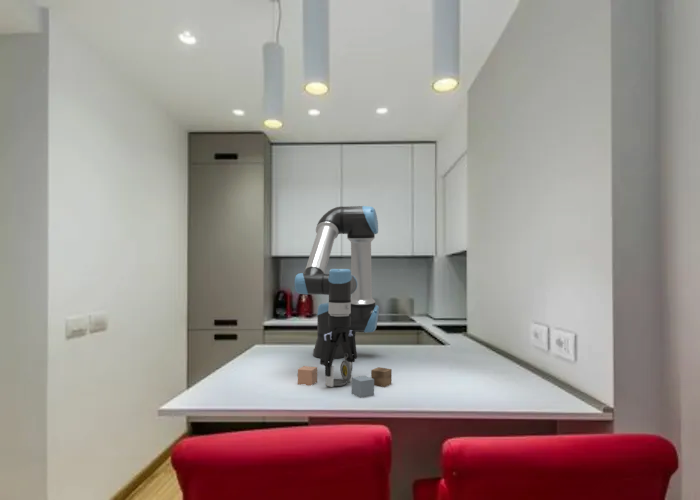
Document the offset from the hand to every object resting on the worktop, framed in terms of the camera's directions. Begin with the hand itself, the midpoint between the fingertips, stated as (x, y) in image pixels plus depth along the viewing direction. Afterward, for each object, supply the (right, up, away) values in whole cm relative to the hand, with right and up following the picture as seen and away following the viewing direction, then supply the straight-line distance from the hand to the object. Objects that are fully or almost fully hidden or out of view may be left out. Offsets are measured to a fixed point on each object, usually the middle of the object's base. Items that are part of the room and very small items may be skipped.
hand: (338, 383), depth 150 cm
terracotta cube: (-11, 0, +2) cm, 11 cm away
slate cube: (+8, 0, -11) cm, 13 cm away
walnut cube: (+14, -1, +1) cm, 14 cm away
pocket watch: (0, -1, 0) cm, 1 cm away
